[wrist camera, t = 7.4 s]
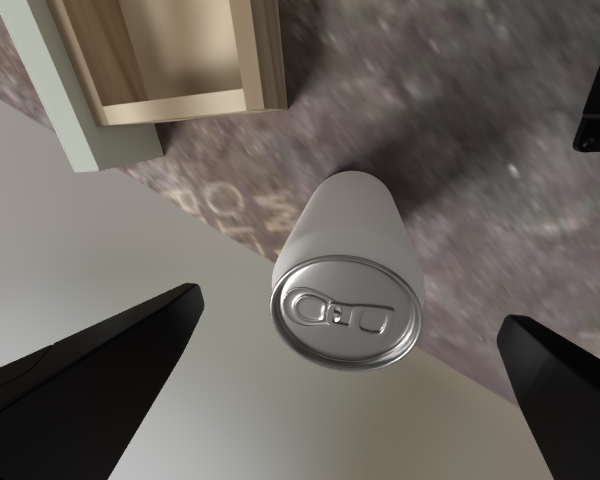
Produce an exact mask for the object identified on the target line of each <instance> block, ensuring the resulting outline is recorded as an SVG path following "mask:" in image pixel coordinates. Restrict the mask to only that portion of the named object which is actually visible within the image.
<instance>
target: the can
mask: <svg viewBox="0 0 600 480" xmlns="http://www.w3.org/2000/svg"><path fill="white" fill-rule="evenodd" d="M424 301H425V284H424V279H423V275H422V272H421V269H420V266H419V263H418V260H417V257H416V255H415V252H414V250H413V247H412V244H411V242H410V239H409V237H408V234H407V232H406V229H405V227H404V224H403V222H402V219H401V217H400V214H399V212H398V209H397V207H396V205H395V202H394V200H393V197H392V195H391V193H390V192H389V190H388V188H387V187H386V186H385V185H384V184H383V183H382V182H381V181H380V180H379V179H377V178H376V177H374V176H372V175H370V174H368V173H365V172H360V171H345V172H340V173H337V174H335V175H332V176H331V177H329V178H327V179H326V180H325V181H323V182H322V183H321V184H320V185H319V186H318V188H317V189H316V190H315V192H314V193H313V195H312V197H311V198H310V200H309V202H308V204H307V205H306V207H305V209H304V211H303V213H302V214H301V216H300V218H299V220H298V222H297V223H296V225H295V227H294V229H293V231H292V232H291V234H290V236H289V238H288V240H287V242H286V243H285V245H284V247H283V249H282V251H281V253H280V255H279V257H278V259H277V261H276V264H275V267H274V271H273V275H272V294H271V298H270V316H271V320H272V323H273V325H274V328H275V330H276V331H277V333H278V335H279V336H280V338H281V339H282V340H283V341H284V342H285V344H286V345H288V347H289V348H290V349H292V350H293V351H294V352H295V353H297V354H298V355H300V356H301V357H303V358H304V359H306V360H308V361H310V362H313V363H314V364H317V365H319V366H322V367H325V368H329V369H333V370H338V371H346V372H365V371H372V370H377V369H381V368H384V367H387V366H389V365H392V364H394V363H396V362H397V361H399V360H401V359H402V358H403V357H405V356H406V355H407V354H408V353H409V352H410V351H411V350H412V349H413V347H414V346H415V345H416V344H417V342H418V340H419V338H420V335H421V332H422V328H423V312H422V309H423V305H424Z"/></svg>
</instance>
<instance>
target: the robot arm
mask: <svg viewBox="0 0 600 480" xmlns="http://www.w3.org/2000/svg"><path fill="white" fill-rule="evenodd" d="M587 139H589V143H588V144H587V145H586V146H583V143H584V142H585V141H586V140H587ZM573 149H574V150H576V151H579V152H600V66H599V69H598V72H597V75H596V77H595V80H594V83H593V86H592V88H591V91H590V94H589V97H588V99H587V102H586V105H585V107H584V110H583V117H582V120H581V123H580V126H579V128H578V131H577V134H576V136H575V139H574V142H573ZM203 310H204V300H203V297H202V293H201V289H200V286H199V285H198V284H194V283H185V284H182V285H180V286H178V287H176V288H174V289H172V290H169V291H167V292H165V293H163V294H161V295H158V296H156V297H154V298H152V299H150V300H147V301H145V302H143V303H141V304H139V305H137V306H134V307H132V308H130V309H128V310H126V311H123V312H121V313H119V314H117V315H115V316H112V317H110V318H108V319H106V320H104V321H102V322H99V323H97V324H95V325H93V326H91V327H89V328H86V329H84V330H82V331H80V332H78V333H75V334H73V335H71V336H69V337H67V338H65V339H63V340H60V341H58V342H56V343H54V344H53V345H49V346H47V347H45V348H42V349H41V350H38V351H36V352H34V353H32V354H29V355H27V356H25V357H23V358H20V359H18V360H16V361H14V362H11V363H9V364H7V365H5V366H2V367H0V480H107V479H108V478H109V476H110V475H111V473H112V471H113V470H114V468H115V466H116V465H117V463H118V461H119V459H120V458H121V456H122V455H123V453H124V451H125V449H126V448H127V446H128V444H129V443H130V441H131V439H132V438H133V436H134V434H135V433H136V431H137V429H138V428H139V426H140V424H141V423H142V421H143V419H144V418H145V416H146V414H147V412H148V411H149V409H150V408H151V406H152V404H153V402H154V401H155V399H156V397H157V396H158V394H159V392H160V391H161V389H162V387H163V386H164V384H165V382H166V381H167V379H168V377H169V376H170V374H171V372H172V371H173V369H174V367H175V366H176V364H177V362H178V361H179V359H180V357H181V355H182V354H183V352H184V350H185V348H186V346H187V344H188V342H189V340H190V337H191V335H192V333H193V331H194V329H195V327H196V325H197V323H198V321H199V318H200V316H201V314H202V312H203ZM497 346H498V349H499V351H500V354H501V357H502V360H503V363H504V365H505V368H506V371H507V374H508V377H509V380H510V382H511V385H512V388H513V391H514V394H515V396H516V399H517V401H518V404H519V406H520V408H521V411H522V413H523V415H524V417H525V419H526V421H527V424H528V426H529V428H530V430H531V432H532V434H533V436H534V438H535V440H536V442H537V445H538V447H539V449H540V451H541V453H542V455H543V457H544V459H545V462H546V464H547V466H548V468H549V470H550V472H551V474H552V476H553V478H554V480H600V359H599V358H598V357H596V356H594V355H592V354H591V353H589V352H587V351H586V350H584V349H582V348H581V347H579V346H577V345H576V344H574V343H572V342H571V341H569V340H567V339H566V338H564V337H562V336H560V335H559V334H557V333H555V332H554V331H552V330H550V329H549V328H547V327H545V326H544V325H542V324H540V323H539V322H537V321H535V320H534V319H532V318H530V317H528V316H524V315H514V314H510V315H507V316H506V317H505V319H504V321H503V324H502V326H501V328H500V331H499V333H498V335H497Z"/></svg>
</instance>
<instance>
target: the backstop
mask: <svg viewBox="0 0 600 480" xmlns="http://www.w3.org/2000/svg"><path fill="white" fill-rule="evenodd" d="M0 15H1V17H2V19H3V21H4V23H5V25H6V28H7V30H8V32H9V34H10V36H11V38H12V40H13V42H14V45H15V47H16V49H17V51H18V53H19V55H20V57H21V59H22V62H23V64H24V66H25V68H26V70H27V72H28V74H29V76H30V78H31V81H32V83H33V85H34V87H35V89H36V91H37V93H38V95H39V98H40V100H41V102H42V104H43V106H44V108H45V110H46V112H47V115H48V117H49V119H50V121H51V123H52V125H53V127H54V129H55V131H56V134H57V136H58V138H59V140H60V142H61V144H62V146H63V148H64V151H65V153H66V155H67V157H68V159H69V161H70V163H71V165H72V168H73V170H74V172H87V171H101V170H105V169H110V168H114V167H119V166H123V165H128V164H132V163H137V162H141V161H145V160H150V159H154V158H159V157H163V156H164V154H163V151H162V147H161V144H160V141H159V138H158V134H157V131H156V128H155V125H154V123H153V124H134V125H115V126H96V124H95V122H94V119H93V117H92V114H91V112H90V109H89V107H88V104H87V102H86V99H85V97H84V94H83V92H82V89H81V87H80V84H79V82H78V79H77V77H76V74H75V72H74V69H73V67H72V64H71V62H70V59H69V57H68V54H67V52H66V49H65V47H64V44H63V42H62V39H61V37H60V35H59V32H58V30H57V27H56V25H55V22H54V20H53V17H52V15H51V12H50V10H49V7H48V5H47V2H46V0H0Z"/></svg>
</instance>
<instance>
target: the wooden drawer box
mask: <svg viewBox="0 0 600 480" xmlns="http://www.w3.org/2000/svg"><path fill="white" fill-rule="evenodd" d="M46 2H47V5H48V7H49V10H50V12H51V15H52V17H53V20H54V22H55V25H56V27H57V30H58V32H59V35H60V37H61V39H62V42H63V44H64V47H65V49H66V52H67V54H68V57H69V59H70V62H71V64H72V67H73V69H74V72H75V74H76V77H77V79H78V82H79V84H80V87H81V89H82V92H83V94H84V97H85V99H86V102H87V104H88V107H89V109H90V112H91V114H92V117H93V119H94V122H95V124H96V126H115V125H134V124H153V123H163V122H173V121H183V120H192V119H202V118H212V117H221V116H231V115H241V114H251V113H260V112H270V111H280V110H288V105H287V95H286V84H285V73H284V63H283V52H282V41H281V31H280V20H279V10H278V0H46Z"/></svg>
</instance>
